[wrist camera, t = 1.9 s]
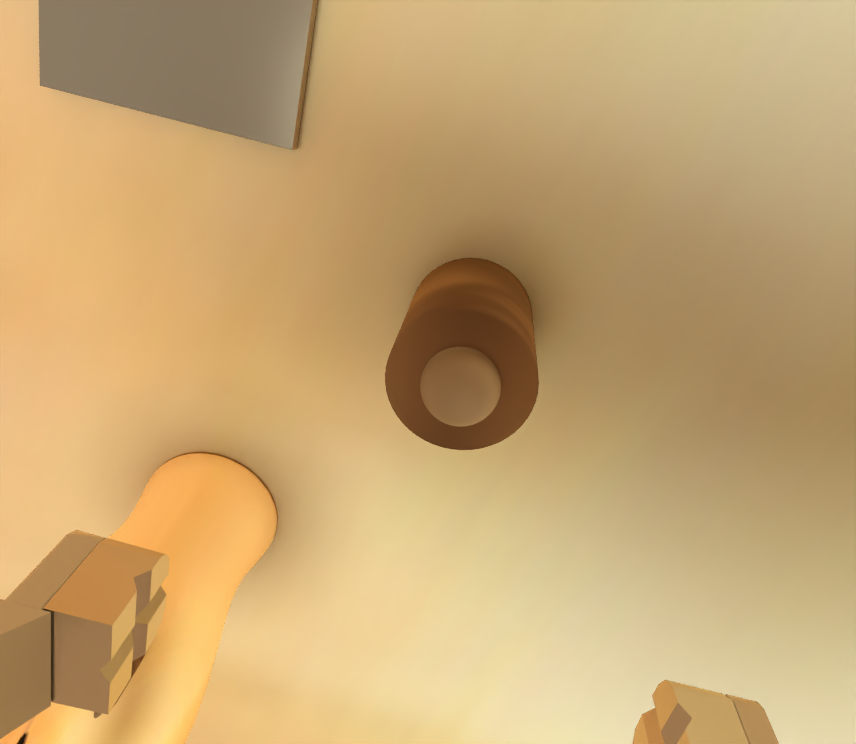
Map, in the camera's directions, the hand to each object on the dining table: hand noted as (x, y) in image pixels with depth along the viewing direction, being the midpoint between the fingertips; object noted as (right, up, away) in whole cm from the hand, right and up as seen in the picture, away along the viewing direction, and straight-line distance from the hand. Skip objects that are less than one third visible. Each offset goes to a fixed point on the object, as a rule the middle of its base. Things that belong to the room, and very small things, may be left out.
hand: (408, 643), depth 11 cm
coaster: (-8, +17, +11) cm, 22 cm away
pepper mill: (+2, +6, +15) cm, 16 cm away
